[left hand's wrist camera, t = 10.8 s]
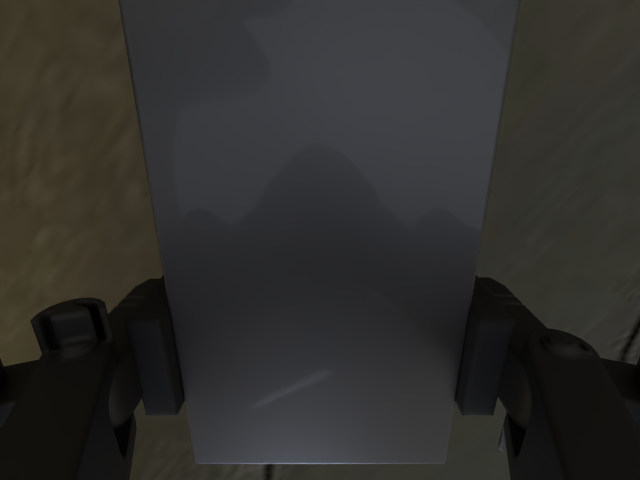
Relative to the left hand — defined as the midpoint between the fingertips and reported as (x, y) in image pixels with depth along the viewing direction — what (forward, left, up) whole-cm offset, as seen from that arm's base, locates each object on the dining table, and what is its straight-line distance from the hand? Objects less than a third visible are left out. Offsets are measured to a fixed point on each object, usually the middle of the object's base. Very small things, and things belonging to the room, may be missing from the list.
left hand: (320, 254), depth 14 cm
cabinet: (0, +5, -5) cm, 7 cm away
